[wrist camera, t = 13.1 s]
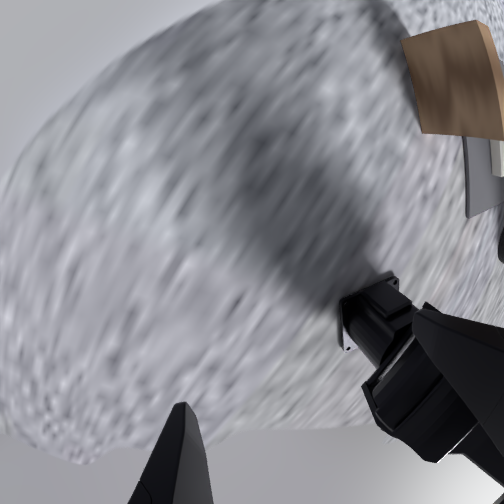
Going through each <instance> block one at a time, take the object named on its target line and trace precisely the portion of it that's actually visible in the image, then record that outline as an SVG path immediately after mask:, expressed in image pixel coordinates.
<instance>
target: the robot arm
mask: <svg viewBox="0 0 504 504" xmlns="http://www.w3.org/2000/svg"><path fill="white" fill-rule="evenodd" d="M345 302H346V304H344V303H345ZM339 307H340V320H341V335H342V349H343V351H344V352H345V353H347V352H350V351H352V350H354V349H356V348H360V350H361V351H362V352H363V353H364V354H365V356H366V357H367V358H368V359H369V360H370V362H371V363H372V364H373V365H374V366H375V368H376V369H377V370H376V371H375V372H374V373H373V375H372V376H371V377H370V378H369V379H368V380H367V381H365V382H364V383H363V385H362V386H361V387H362V390H363V392H364V395H365V397H366V400H367V402H368V405H369V407H370V410H371V412H372V415H373V417H374V420H375V422H376V424H377V426H379V427H380V428H381V430H382V431H385V432H386V433H387V434H389V435H390V436H392V437H394V438H398V439H399V440H401V441H403V442H404V443H405V444H407V445H408V446H409V447H411V448H412V449H413V450H414V451H415V452H416V453H417V454H418V455H419V456H420V457H421V458H422V459H423V460H425V461H428V462H432V463H438V462H439V461H440V460H441V459H442V458H444V457H445V456H446V455H447V454H463V455H464V456H466V457H467V458H468V459H469V460H470V461H472V462H473V463H474V464H476V465H477V466H478V467H479V468H480V469H482V470H483V471H484V472H485V473H487V474H488V475H489V476H490V477H492V478H493V479H494V480H495V481H496V482H498V483H499V484H500V485H502V486H503V487H504V328H501V327H495V326H493V325H488V324H484V323H480V322H476V321H472V320H468V319H463V318H459V317H455V316H451V315H447V314H443V313H441V312H440V311H439V310H437V309H436V308H435V307H433V306H432V305H430V304H429V303H428V302H425V303H424V305H423V306H422V307H423V308H422V309H420V310H419V309H418V308H416V307H415V306H414V305H413V304H412V301H411V300H410V299H408V298H407V297H406V296H404V295H403V294H402V293H400V292H399V279H398V278H397V277H396V276H393V277H390V278H388V279H386V280H384V281H381V282H379V283H377V284H375V285H372V286H370V287H368V288H365V289H363V290H361V291H358V292H356V293H353V294H351V295H349V296H346V297H344V298H342V299H341V300H340V302H339ZM347 347H348V348H347ZM128 504H214V503H213V497H212V491H211V485H210V478H209V472H208V466H207V458H206V453H205V449H204V445H203V441H202V437H201V433H200V429H199V425H198V421H197V417H196V415H195V413H194V412H193V410H192V409H191V408H190V406H189V405H188V403H187V402H180V403H176V404H175V405H174V406H173V408H172V411H171V413H170V415H169V417H168V419H167V421H166V423H165V426H164V428H163V430H162V432H161V434H160V436H159V438H158V441H157V443H156V445H155V447H154V449H153V451H152V454H151V456H150V458H149V460H148V462H147V464H146V467H145V469H144V471H143V473H142V475H141V478H140V481H138V484H137V486H136V488H135V490H134V492H133V494H132V496H131V498H130V500H129V502H128ZM493 504H504V493H503V494H502V496H500V498H498V499H497V500H496V501H495V502H494V503H493Z"/></svg>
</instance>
